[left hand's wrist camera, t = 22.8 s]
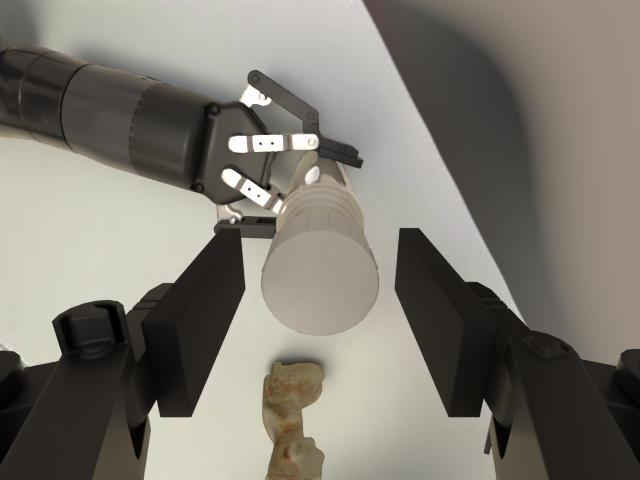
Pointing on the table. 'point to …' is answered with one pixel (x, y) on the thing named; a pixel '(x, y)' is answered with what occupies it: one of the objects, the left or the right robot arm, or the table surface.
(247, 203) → the table surface
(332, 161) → the bottle
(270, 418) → the sculpture
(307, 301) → the cap
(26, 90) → the right robot arm
